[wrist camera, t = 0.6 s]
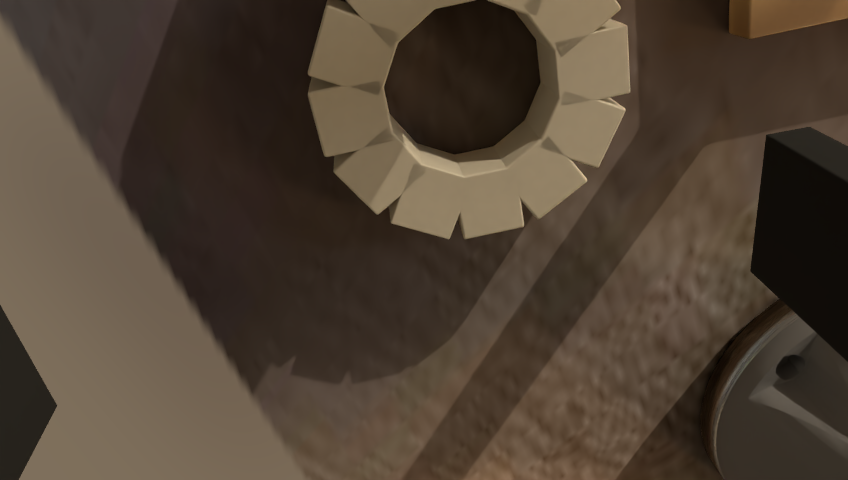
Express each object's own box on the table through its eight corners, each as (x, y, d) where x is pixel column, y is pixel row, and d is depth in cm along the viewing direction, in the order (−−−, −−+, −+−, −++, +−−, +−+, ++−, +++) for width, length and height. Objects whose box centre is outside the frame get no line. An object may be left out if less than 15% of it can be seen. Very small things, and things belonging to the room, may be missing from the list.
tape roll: (611, 179, 28) (635, 203, 26) (352, 235, 28) (352, 264, 26) (594, -116, 23) (621, -120, 21) (277, -50, 23) (269, -46, 20)
